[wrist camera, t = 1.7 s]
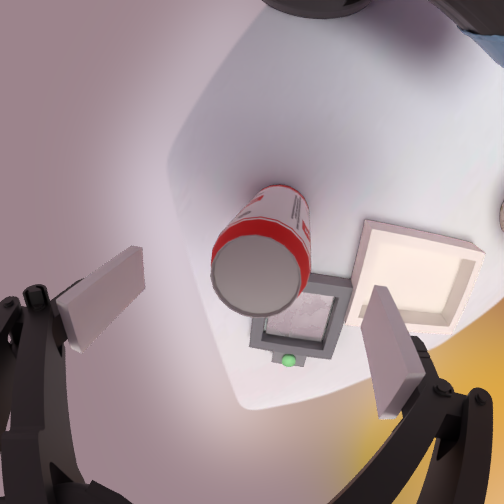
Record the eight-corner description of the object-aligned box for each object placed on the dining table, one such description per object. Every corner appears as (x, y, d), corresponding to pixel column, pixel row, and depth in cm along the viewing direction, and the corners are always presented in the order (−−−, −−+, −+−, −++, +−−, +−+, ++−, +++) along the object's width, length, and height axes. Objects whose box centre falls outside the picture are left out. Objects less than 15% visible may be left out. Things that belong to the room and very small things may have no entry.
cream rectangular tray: (364, 219, 29) (371, 228, 25) (472, 242, 27) (485, 253, 23) (342, 308, 33) (345, 324, 30) (443, 319, 31) (451, 334, 28)
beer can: (244, 227, 31) (191, 303, 17) (261, 174, 29) (216, 207, 14) (296, 247, 31) (286, 339, 17) (317, 195, 29) (331, 250, 14)
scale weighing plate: (274, 281, 33) (273, 285, 32) (333, 291, 32) (334, 294, 31) (266, 329, 36) (265, 333, 35) (320, 337, 35) (320, 341, 34)
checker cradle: (260, 265, 33) (257, 274, 30) (351, 279, 31) (354, 289, 29) (250, 349, 38) (247, 361, 36) (325, 361, 36) (326, 373, 34)
